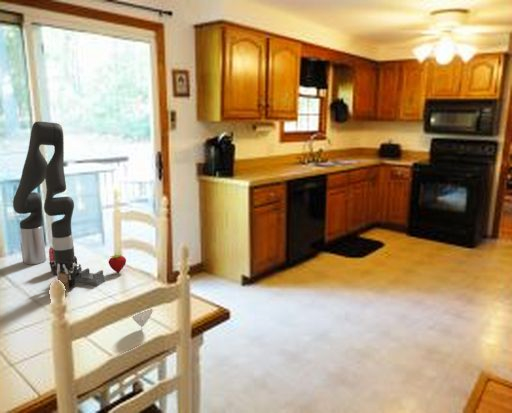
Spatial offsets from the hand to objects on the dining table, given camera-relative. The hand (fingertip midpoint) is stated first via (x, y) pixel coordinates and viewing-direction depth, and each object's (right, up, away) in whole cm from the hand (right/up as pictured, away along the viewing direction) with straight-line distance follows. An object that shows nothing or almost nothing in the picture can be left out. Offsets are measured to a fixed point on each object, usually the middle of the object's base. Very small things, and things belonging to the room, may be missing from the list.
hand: (67, 286), depth 167 cm
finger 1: (-3, +4, +9) cm, 10 cm away
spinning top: (+39, -8, -31) cm, 50 cm away
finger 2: (0, -1, 0) cm, 1 cm away
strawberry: (+15, +3, +17) cm, 23 cm away
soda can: (-12, +3, +18) cm, 22 cm away
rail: (+3, +1, +8) cm, 8 cm away
